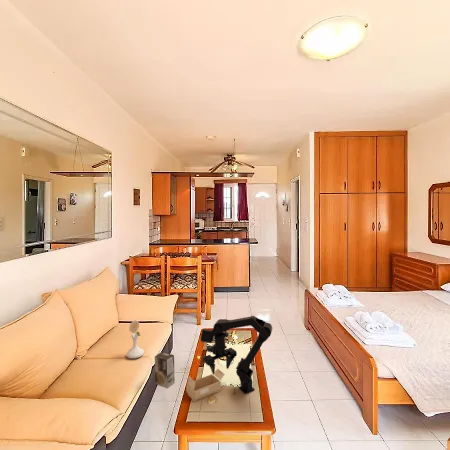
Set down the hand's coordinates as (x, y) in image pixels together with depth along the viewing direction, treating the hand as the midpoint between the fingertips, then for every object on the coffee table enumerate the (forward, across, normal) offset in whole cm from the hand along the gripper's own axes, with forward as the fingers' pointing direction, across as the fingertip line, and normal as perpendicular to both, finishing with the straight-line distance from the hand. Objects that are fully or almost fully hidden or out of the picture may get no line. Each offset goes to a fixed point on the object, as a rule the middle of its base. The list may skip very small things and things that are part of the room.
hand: (220, 371), depth 164 cm
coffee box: (+8, +24, -19) cm, 32 cm away
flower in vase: (+8, +28, -59) cm, 66 cm away
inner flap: (+1, +1, 0) cm, 2 cm away
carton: (+8, +10, 0) cm, 13 cm away
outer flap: (0, +18, 0) cm, 18 cm away
